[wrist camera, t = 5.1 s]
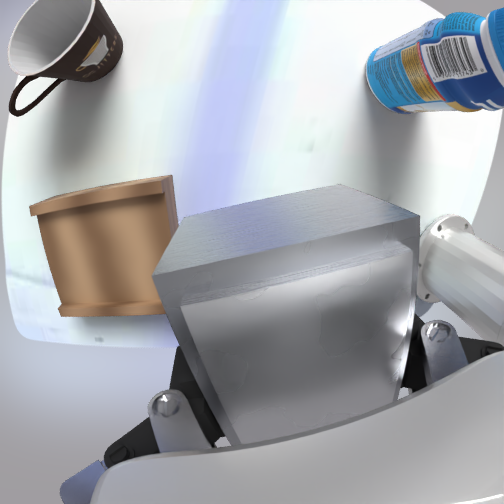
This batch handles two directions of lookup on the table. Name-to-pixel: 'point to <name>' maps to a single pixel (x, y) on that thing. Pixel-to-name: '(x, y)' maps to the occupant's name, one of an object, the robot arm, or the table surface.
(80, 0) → the coffee mug
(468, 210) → the table surface
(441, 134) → the table surface
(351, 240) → the block
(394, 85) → the beverage bottle
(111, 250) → the stand
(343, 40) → the table surface
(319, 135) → the table surface
